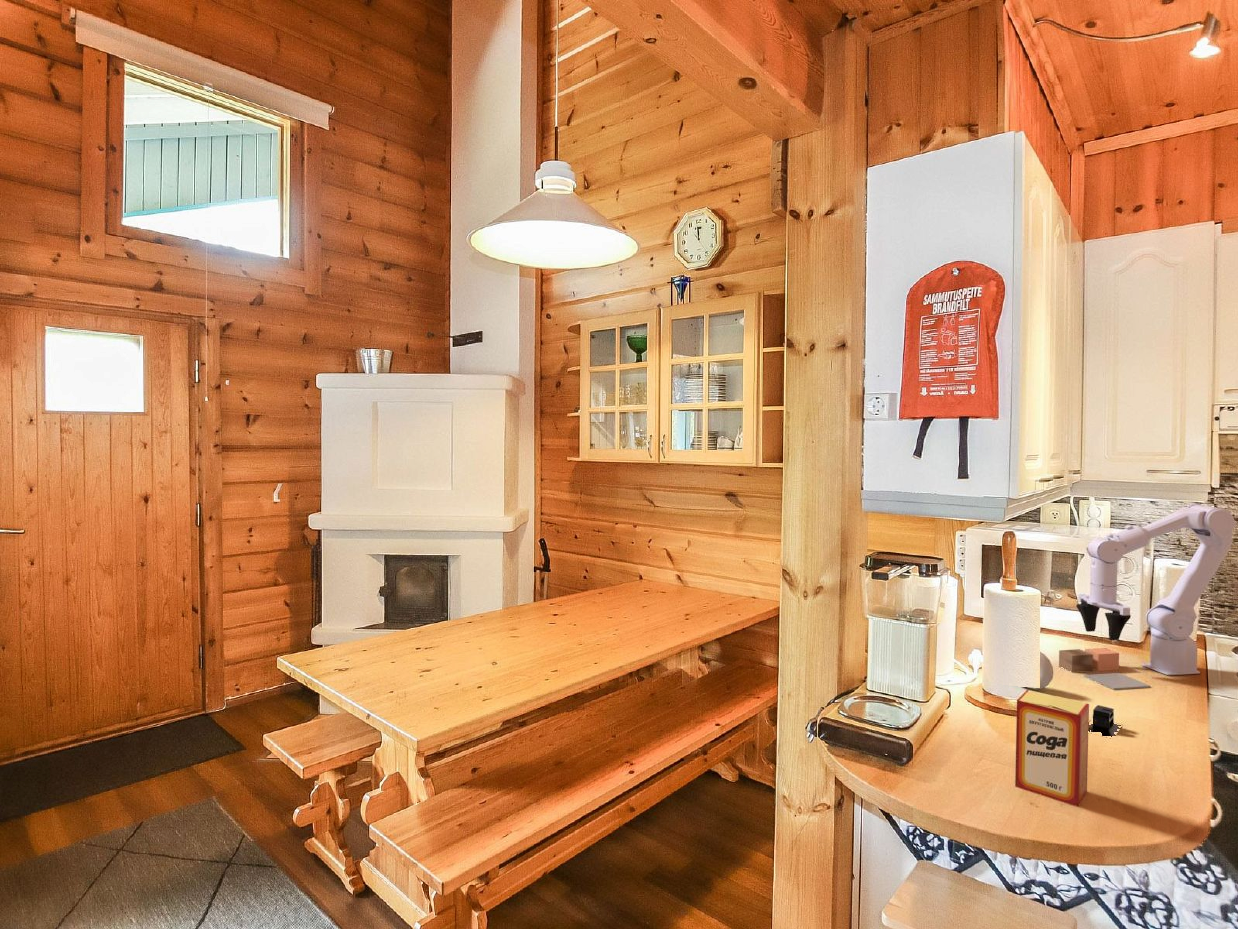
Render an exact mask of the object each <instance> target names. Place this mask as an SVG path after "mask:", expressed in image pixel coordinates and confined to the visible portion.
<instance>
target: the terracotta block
mask: <svg viewBox="0 0 1238 929" xmlns="http://www.w3.org/2000/svg"><path fill="white" fill-rule="evenodd" d="M1084 651H1085V652H1088V653H1091V654H1093V670H1095V671H1097V672H1099V671H1100V672H1101V671H1103V672H1105V671H1117V670H1118V671H1119V669H1120V667H1119V666H1120V652H1117V651H1114V650H1113V649H1110V648H1107V647H1099V648H1098V647H1097V648H1084Z"/></svg>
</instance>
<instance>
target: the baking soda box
mask: <svg viewBox="0 0 1238 929" xmlns="http://www.w3.org/2000/svg"><path fill="white" fill-rule="evenodd" d="M1089 722H1090V703H1087V702H1082V701H1079V700H1074V699H1070V698H1066V697H1063V696H1058V695H1051V694H1048V693H1042V692H1038V691H1036V690H1035V691H1034V690H1031V689H1027V690H1025V692H1023V694H1022V695H1020V697H1019V698H1018V699H1016V727H1015V728H1016V729H1015V731H1016V733H1015V734H1016V739H1015V772H1014V773H1015V776H1014V778H1015V779H1014V787H1016V788H1019V789H1021V790H1025V791H1028V792H1030V793H1031V792H1032V793H1034V794H1037V795H1040V794H1041V795H1040V796H1044V797H1046V798H1049V799H1053V800H1055V801H1059V802H1062V803H1066V804H1068V805H1072V806H1074V807H1078V808H1079V806H1080V805H1081V803H1082V802H1083V799H1084V798H1085V796H1086V794H1087V792H1088V767H1089V766H1088V762H1089V761H1088V759H1089V756H1088V755H1089V754H1088V753H1089V733H1088V728H1089Z"/></svg>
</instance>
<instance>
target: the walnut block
mask: <svg viewBox="0 0 1238 929" xmlns="http://www.w3.org/2000/svg"><path fill="white" fill-rule="evenodd" d="M1058 667H1059V668H1061V667H1063V668H1064V669H1063V668H1062V669H1063V670H1065V669H1066V671H1067V672H1070V671H1071V672H1070V673H1078V672H1077V671H1087V672H1093V671H1094V669H1093V654H1091V653H1088V652H1085V650H1083V649H1081V648H1077V649H1062V650H1059V651H1058Z"/></svg>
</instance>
